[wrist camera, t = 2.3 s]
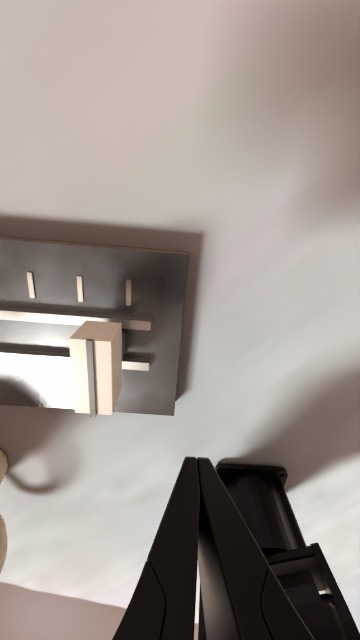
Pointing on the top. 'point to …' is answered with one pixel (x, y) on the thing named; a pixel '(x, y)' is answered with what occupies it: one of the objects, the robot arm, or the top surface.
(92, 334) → the fader tab
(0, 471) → the mug
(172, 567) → the robot arm
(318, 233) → the top surface
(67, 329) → the console board
